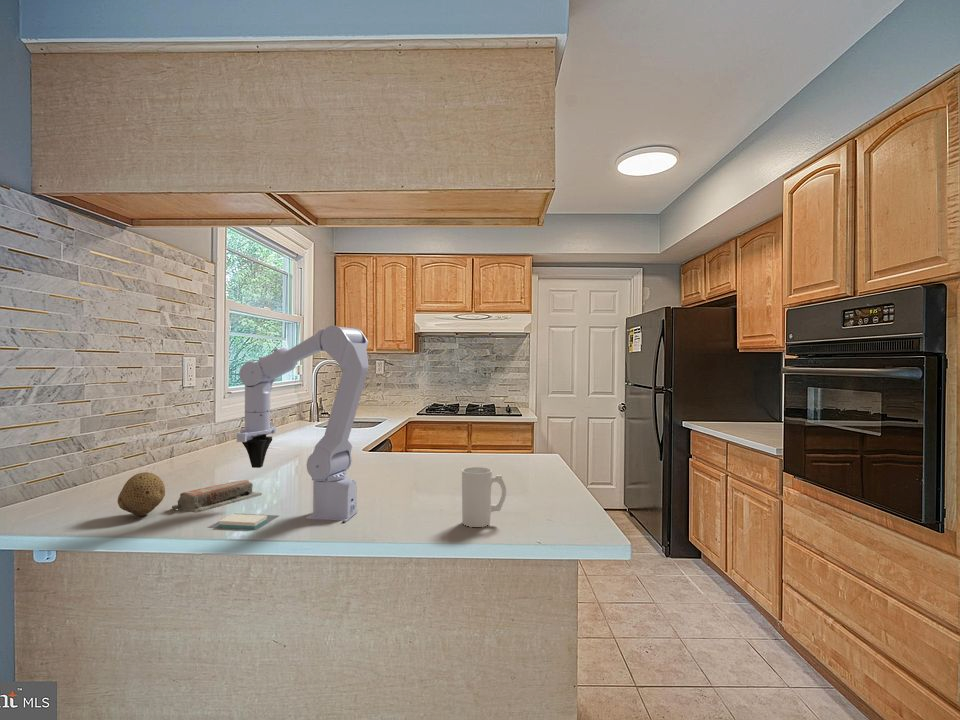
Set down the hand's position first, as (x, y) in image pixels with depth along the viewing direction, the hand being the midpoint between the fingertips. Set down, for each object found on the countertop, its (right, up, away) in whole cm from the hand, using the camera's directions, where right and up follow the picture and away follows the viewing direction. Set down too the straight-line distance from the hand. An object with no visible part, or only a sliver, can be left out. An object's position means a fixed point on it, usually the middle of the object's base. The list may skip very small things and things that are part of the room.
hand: (257, 467), depth 128 cm
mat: (+3, -10, -12) cm, 16 cm away
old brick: (-11, -11, +4) cm, 16 cm away
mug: (+55, -11, -10) cm, 57 cm away
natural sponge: (-23, -10, -7) cm, 26 cm away
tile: (+4, -9, -12) cm, 15 cm away
